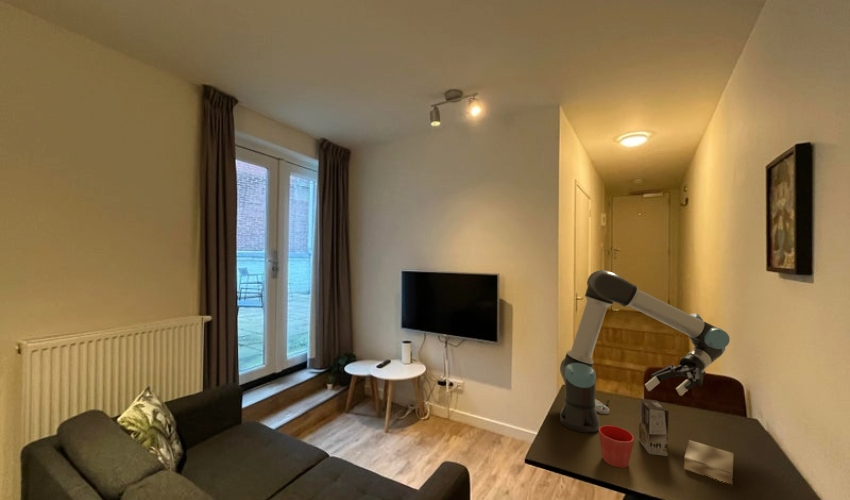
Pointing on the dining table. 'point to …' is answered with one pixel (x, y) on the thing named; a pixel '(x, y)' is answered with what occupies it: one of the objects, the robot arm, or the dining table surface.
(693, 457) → the stand
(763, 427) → the dining table surface
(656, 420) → the coffee box
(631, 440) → the flower pot
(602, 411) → the game controller
